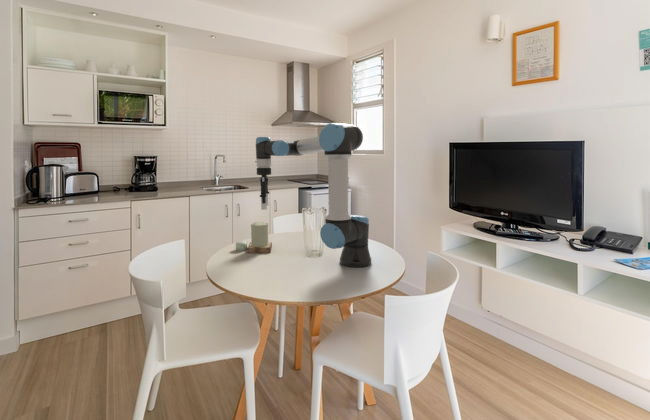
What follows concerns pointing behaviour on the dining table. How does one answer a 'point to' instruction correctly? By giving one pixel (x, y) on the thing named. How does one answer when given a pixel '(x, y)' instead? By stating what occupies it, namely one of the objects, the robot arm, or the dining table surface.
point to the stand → (259, 249)
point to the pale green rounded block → (241, 246)
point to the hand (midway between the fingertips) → (265, 207)
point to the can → (259, 234)
